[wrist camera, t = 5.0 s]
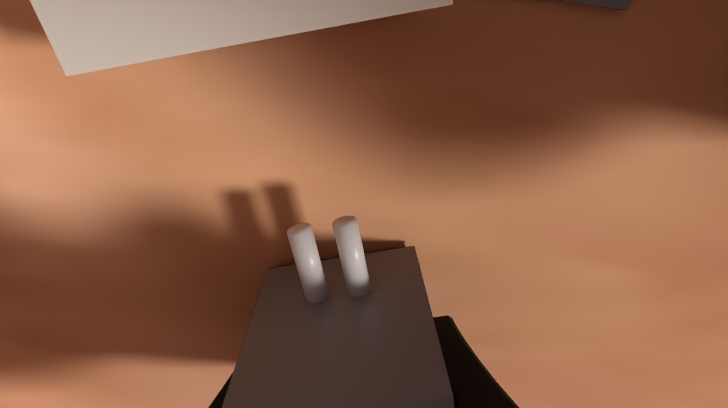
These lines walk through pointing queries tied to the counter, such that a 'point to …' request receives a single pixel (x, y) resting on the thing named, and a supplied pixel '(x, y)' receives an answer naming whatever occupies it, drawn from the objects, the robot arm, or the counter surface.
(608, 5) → the plate
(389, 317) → the charger
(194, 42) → the power strip
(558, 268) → the counter surface
